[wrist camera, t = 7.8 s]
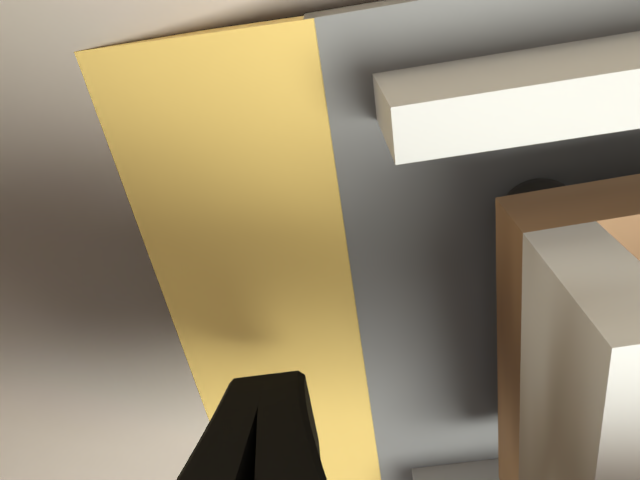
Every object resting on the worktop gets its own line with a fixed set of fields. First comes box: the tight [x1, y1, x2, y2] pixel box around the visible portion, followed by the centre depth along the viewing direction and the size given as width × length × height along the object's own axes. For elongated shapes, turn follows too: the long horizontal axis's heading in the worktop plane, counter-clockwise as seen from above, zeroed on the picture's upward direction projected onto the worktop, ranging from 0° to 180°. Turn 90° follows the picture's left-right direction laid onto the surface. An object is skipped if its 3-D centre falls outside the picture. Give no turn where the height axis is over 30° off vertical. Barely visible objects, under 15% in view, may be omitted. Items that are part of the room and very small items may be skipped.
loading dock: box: [74, 0, 640, 480], centre depth 10 cm, size 13×17×5 cm
